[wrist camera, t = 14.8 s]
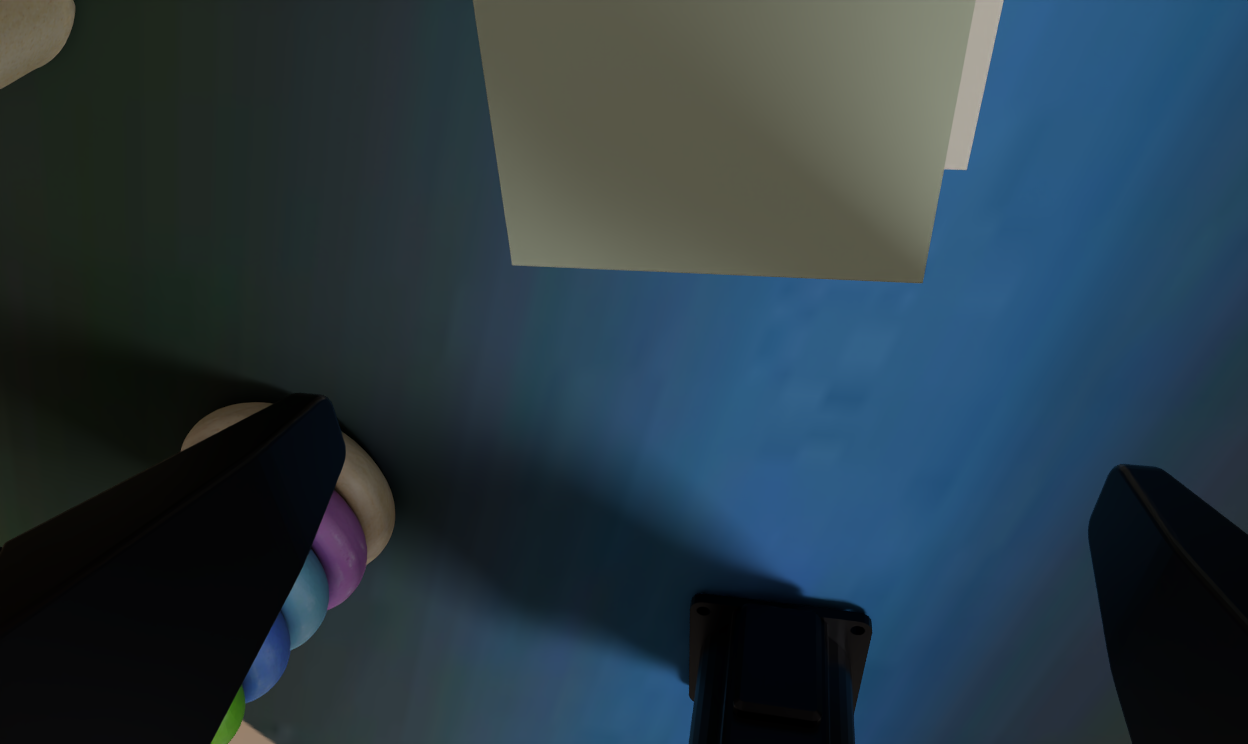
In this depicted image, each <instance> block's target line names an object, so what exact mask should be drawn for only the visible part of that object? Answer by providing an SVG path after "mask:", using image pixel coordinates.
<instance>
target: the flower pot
mask: <svg viewBox="0 0 1248 744" xmlns="http://www.w3.org/2000/svg"><path fill="white" fill-rule="evenodd" d="M74 16H75V4H74V1H73V0H0V89H1V88H3V87H5V86H7V85H9V84H10V83H12V82H14V81H16V80H17V79H19V78H21V77H22V76H24V75H26V74H27V73H29V72H31V71H33V70H34V69H36V68H39V67H41V66H43V65H45V64H46V63H48V62H49V61H51V60H52V59H53V58H54V57H55V56H56V55H57V54H58V53H59V52H60V50H61V49H62V47H63V46H64V45H65V43H66V41H67V39H68V36H69V34H70V32H71V29H72V26H73V22H74Z"/></svg>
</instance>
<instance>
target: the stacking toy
mask: <svg viewBox="0 0 1248 744" xmlns="http://www.w3.org/2000/svg"><path fill="white" fill-rule="evenodd" d="M272 404H273V403H264V402H250V403H240V404H234V405H230V406H226V407H223V408H221V409H218V410H216V411H214V412H212V413H210V414H209V415H207V416H205V417H204V418H202V419H201V420H200V421H199V422H198V423H197V424H196V425H195V426H194V427H193V428H192V429H191V431H190V432H189V433H188V435H187V437H186V438H185V440H184V442H183V445H182V448H181V451H183V450H185V449H187V448H189V447H191V446H193V445H194V444H196V443H198V442H200V441H202V440H204V439H206V438H208V437H210V436H212V435H214V434H216V433H218V432H220V431H221V430H223V429H225V428H227V427H229V426H231V425H233V424H235V423H237V422H239V421H241V420H243V419H245V418H247V417H249V416H250V415H252V414H254V413H256V412H258V411H260V410H262V409H264V408H266V407H268V406H270V405H272ZM341 432H342V431H341ZM342 435H343V439H344V442H345V446H346V457H345V462H344V465H343V468H342V471H341V473H340V476H339V478H338V481H337V483H336V486H335V488H334V491H333V494H332V496H331V499H330V501H329V504H328V506H327V509H326V511H325V514H324V516H323V519H322V521H321V524H320V527H319V529H318V532H317V534H316V537H315V539H314V542H313V544H312V547H311V549H310V552H309V554H308V556H307V559H306V561H305V563H304V566H303V568H302V570H301V572H300V574H299V576H298V578H297V580H296V582H295V584H294V586H293V588H292V590H291V592H290V594H289V595H288V597H287V599H286V601H285V603H284V605H283V607H282V609H281V611H280V613H279V614H278V616H277V618H276V620H275V622H274V624H273V626H272V628H271V630H270V632H269V634H268V635H267V637H266V639H265V641H264V643H263V645H262V647H261V649H260V651H259V653H258V655H257V656H256V658H255V660H254V662H253V664H252V666H251V668H250V670H249V672H248V674H247V675H246V677H245V679H244V681H243V683H242V685H241V687H240V689H239V691H238V693H237V695H236V696H235V698H234V700H233V702H232V704H231V706H230V708H229V710H228V712H227V714H226V715H225V717H224V719H223V721H222V723H221V725H220V727H219V729H218V731H217V733H216V735H215V736H214V738H213V740H212V742H211V744H228V743H229V742H230V741H231V739H232V738H233V736H234V735H235V734H236V732H237V730H238V729H239V727H240V724H241V722H242V719H243V716H244V712H245V703H248V702H251V701H253V700H255V699H257V698H259V697H261V696H262V695H264V694H265V693H267V692H268V691H269V690H270V689H271V688H272V687H273V686H274V685H275V684H276V683H277V681H278V680H279V679H280V677H281V676H282V674H283V672H284V670H285V668H286V666H287V663H288V660H289V656H290V650H292V649H295V648H297V647H298V646H300V645H302V644H303V643H304V642H306V641H307V640H308V639H309V638H310V637H311V636H312V635H313V634H314V633H315V632H316V631H317V629H318V628H319V626H320V625H321V623H322V621H323V619H324V617H325V615H326V612H327V610H328V609H331V608H333V607H335V606H337V605H339V604H340V603H342V602H343V601H344V600H346V599H347V598H348V597H349V596H350V595H351V594H352V593H353V592H354V590H355V589H356V588H357V586H358V585H359V583H360V581H361V579H362V577H363V574H364V571H365V568H366V565H367V564H368V563H370V562H371V561H372V560H374V559H375V558H376V557H377V556H378V555H379V554H380V553H381V551H382V550H383V549H384V548H385V546H386V545H387V543H388V541H389V539H390V537H391V534H392V532H393V528H394V524H395V505H394V499H393V496H392V492H391V490H390V487H389V485H388V482H387V480H386V479H385V477H384V475H383V473H382V472H381V470H380V469H379V467H378V466H377V465H376V463H375V462H374V461H373V459H372V458H371V457H370V456H369V455H368V454H367V453H366V452H365V450H363V449H362V448H361V447H360V446H359V445H358V444H357V443H356V442H355V441H354V440H353V439H351V438H350V437H349V436H347V435H346V434H345V433H343V432H342Z"/></svg>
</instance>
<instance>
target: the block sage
mask: <svg viewBox="0 0 1248 744" xmlns="http://www.w3.org/2000/svg"><path fill="white" fill-rule="evenodd" d="M975 1H976V0H473V4H474V11H475V17H476V24H477V31H478V38H479V44H480V51H481V58H482V64H483V71H484V78H485V85H486V91H487V98H488V105H489V111H490V118H491V125H492V132H493V138H494V145H495V152H496V158H497V165H498V172H499V179H500V185H501V192H502V199H503V205H504V212H505V219H506V226H507V232H508V239H509V246H510V252H511V259H512V265H520V266H542V267H565V268H588V269H610V270H633V271H656V272H679V273H701V274H724V275H747V276H770V277H792V278H815V279H838V280H860V281H883V282H906V283H923V278H924V272H925V267H926V262H927V256H928V251H929V246H930V240H931V235H932V230H933V224H934V219H935V214H936V209H937V203H938V198H939V193H940V187H941V182H942V177H943V171H944V166H945V161H946V155H947V150H948V145H949V139H950V134H951V129H952V124H953V118H954V113H955V108H956V102H957V97H958V92H959V86H960V81H961V76H962V70H963V65H964V60H965V54H966V49H967V44H968V39H969V33H970V28H971V23H972V17H973V12H974V7H975Z"/></svg>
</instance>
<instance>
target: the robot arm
mask: <svg viewBox="0 0 1248 744" xmlns="http://www.w3.org/2000/svg"><path fill="white" fill-rule="evenodd" d="M345 457H346V446H345V442H344V439H343V435H342V432H341V429H340V426H339V423H338V420H337V417H336V414H335V411H334V408H333V405H332V403H331V401H330V400H329V399H328V398H327V397H326V396H324V395H319V394H307V393H294V394H291V395H289V396H287V397H285V398H283V399H281V400H279V401H277V402H276V403H274V404H272V405H270V406H268V407H266V408H264V409H262V410H260V411H258V412H256V413H254V414H252V415H250V416H249V417H247V418H245V419H243V420H241V421H239V422H237V423H235V424H233V425H231V426H229V427H227V428H225V429H223V430H221V431H220V432H218V433H216V434H214V435H212V436H210V437H208V438H206V439H204V440H202V441H200V442H198V443H196V444H194V445H193V446H191V447H189V448H187V449H185V450H183V451H181V452H179V453H177V454H175V455H173V456H171V457H169V458H167V459H166V460H164V461H162V462H160V463H158V464H156V465H154V466H152V467H150V468H148V469H146V470H144V471H142V472H140V473H138V474H137V475H135V476H133V477H131V478H129V479H127V480H125V481H123V482H121V483H119V484H117V485H115V486H113V487H111V488H110V489H108V490H106V491H104V492H102V493H100V494H98V495H96V496H94V497H92V498H90V499H88V500H86V501H84V502H83V503H81V504H79V505H77V506H75V507H73V508H71V509H69V510H67V511H65V512H63V513H61V514H59V515H57V516H55V517H54V518H52V519H50V520H48V521H46V522H44V523H42V524H40V525H38V526H36V527H34V528H32V529H30V530H28V531H27V532H25V533H23V534H21V535H19V536H17V537H15V538H13V539H11V540H9V541H7V542H6V543H5V544H4V545H3V548H2V547H0V744H211V742H212V740H213V738H214V736H215V735H216V733H217V731H218V729H219V727H220V725H221V723H222V721H223V719H224V717H225V715H226V714H227V712H228V710H229V708H230V706H231V704H232V702H233V700H234V698H235V696H236V695H237V693H238V691H239V689H240V687H241V685H242V683H243V681H244V679H245V677H246V675H247V674H248V672H249V670H250V668H251V666H252V664H253V662H254V660H255V658H256V656H257V655H258V653H259V651H260V649H261V647H262V645H263V643H264V641H265V639H266V637H267V635H268V634H269V632H270V630H271V628H272V626H273V624H274V622H275V620H276V618H277V616H278V614H279V613H280V611H281V609H282V607H283V605H284V603H285V601H286V599H287V597H288V595H289V594H290V592H291V590H292V588H293V586H294V584H295V582H296V580H297V578H298V576H299V574H300V572H301V570H302V568H303V566H304V563H305V561H306V559H307V556H308V554H309V552H310V549H311V547H312V544H313V542H314V539H315V537H316V534H317V532H318V529H319V527H320V524H321V521H322V519H323V516H324V514H325V511H326V509H327V506H328V504H329V501H330V499H331V496H332V494H333V491H334V488H335V486H336V483H337V481H338V478H339V476H340V473H341V471H342V468H343V465H344V462H345ZM1088 540H1089V546H1090V552H1091V558H1092V564H1093V570H1094V576H1095V582H1096V588H1097V594H1098V600H1099V606H1100V612H1101V618H1102V623H1103V629H1104V635H1105V641H1106V647H1107V652H1108V657H1109V662H1110V667H1111V672H1112V675H1113V679H1114V683H1115V687H1116V690H1117V694H1118V697H1119V701H1120V704H1121V707H1122V711H1123V714H1124V717H1125V721H1126V724H1127V727H1128V731H1129V734H1130V737H1131V741H1132V744H1248V534H1246V533H1245V532H1244V531H1242V530H1241V529H1240V528H1239V527H1237V526H1236V525H1235V524H1233V523H1232V522H1231V521H1229V520H1228V519H1227V518H1226V517H1224V516H1223V515H1222V514H1220V513H1219V512H1218V511H1216V510H1215V509H1214V508H1213V507H1211V506H1210V505H1209V504H1207V503H1206V502H1205V501H1203V500H1202V499H1201V498H1200V497H1198V496H1197V495H1196V494H1194V493H1193V492H1192V491H1190V490H1189V489H1188V488H1187V487H1185V486H1184V485H1183V484H1181V483H1180V482H1179V481H1177V480H1176V479H1175V478H1174V477H1172V476H1171V475H1170V474H1168V473H1167V472H1165V471H1164V470H1162V469H1160V468H1158V467H1153V466H1142V465H1130V464H1120V465H1117V466H1115V467H1114V468H1113V469H1112V470H1111V471H1110V473H1109V474H1108V477H1107V479H1106V481H1105V484H1104V486H1103V488H1102V491H1101V493H1100V495H1099V498H1098V500H1097V503H1096V505H1095V507H1094V510H1093V512H1092V514H1091V517H1090V520H1089V526H1088ZM871 635H872V623H871V619H870V618H869V616H867V615H865V614H863V613H859V612H851V611H842V610H834V609H826V608H818V607H810V606H801V605H793V604H785V603H777V602H769V601H761V600H752V599H744V598H736V597H728V596H720V595H712V594H697V595H695V596H694V597H692V600H691V606H690V659H689V696H690V698H691V699H692V701H694V706H693V714H692V722H691V730H690V738H689V744H855V734H854V711H855V707H856V702H857V698H858V693H859V689H860V684H861V680H862V675H863V671H864V667H865V662H866V658H867V653H868V649H869V644H870V640H871Z"/></svg>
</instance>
